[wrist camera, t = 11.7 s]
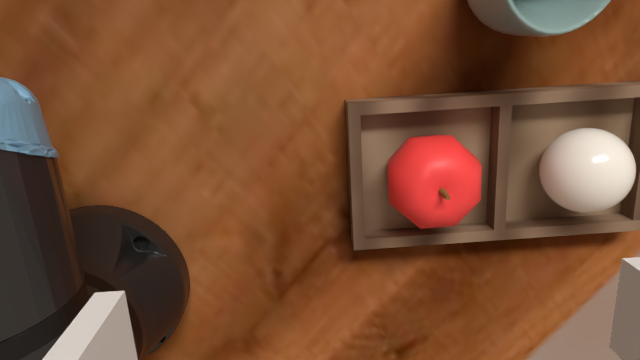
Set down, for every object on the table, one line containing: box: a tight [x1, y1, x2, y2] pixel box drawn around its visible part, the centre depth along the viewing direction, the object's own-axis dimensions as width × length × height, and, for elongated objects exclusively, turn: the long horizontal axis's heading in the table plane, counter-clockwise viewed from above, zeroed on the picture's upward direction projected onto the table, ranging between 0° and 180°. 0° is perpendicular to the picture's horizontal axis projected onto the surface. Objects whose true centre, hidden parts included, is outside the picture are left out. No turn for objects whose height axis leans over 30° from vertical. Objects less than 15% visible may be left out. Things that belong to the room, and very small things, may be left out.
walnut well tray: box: [345, 81, 640, 250], centre depth 43 cm, size 26×13×2 cm, turn 93°
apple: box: [387, 135, 482, 229], centre depth 39 cm, size 8×8×8 cm
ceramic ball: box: [539, 128, 636, 213], centre depth 40 cm, size 7×7×7 cm
